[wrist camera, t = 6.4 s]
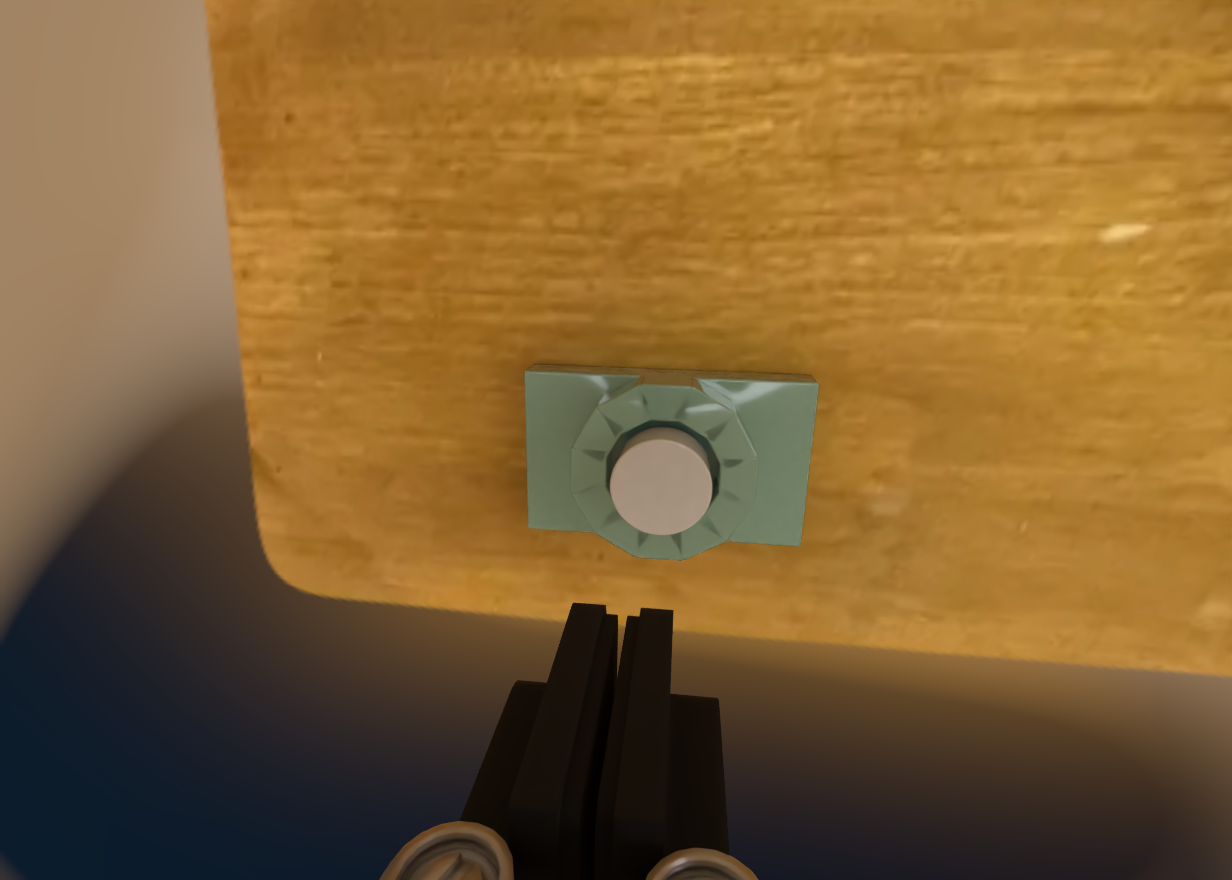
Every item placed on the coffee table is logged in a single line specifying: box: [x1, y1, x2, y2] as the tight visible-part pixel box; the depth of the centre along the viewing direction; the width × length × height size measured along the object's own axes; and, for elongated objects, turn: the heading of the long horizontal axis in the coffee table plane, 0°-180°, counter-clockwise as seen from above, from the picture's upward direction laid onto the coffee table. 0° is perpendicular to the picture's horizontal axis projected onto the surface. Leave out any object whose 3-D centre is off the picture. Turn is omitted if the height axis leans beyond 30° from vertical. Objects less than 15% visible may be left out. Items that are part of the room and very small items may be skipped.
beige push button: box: [610, 427, 712, 535], centre depth 20 cm, size 3×3×2 cm
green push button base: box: [524, 364, 819, 561], centre depth 22 cm, size 10×6×3 cm, turn 89°
